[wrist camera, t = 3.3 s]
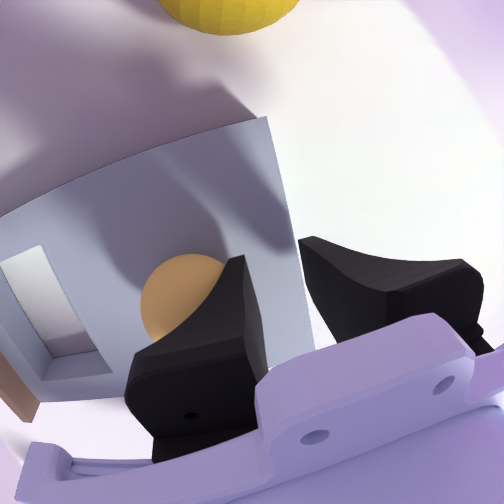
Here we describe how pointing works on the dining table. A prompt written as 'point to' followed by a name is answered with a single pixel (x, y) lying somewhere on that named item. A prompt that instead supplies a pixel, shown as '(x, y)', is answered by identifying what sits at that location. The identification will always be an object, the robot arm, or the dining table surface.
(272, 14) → the lemon
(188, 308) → the ball
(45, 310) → the dining table surface
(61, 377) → the grey piece
